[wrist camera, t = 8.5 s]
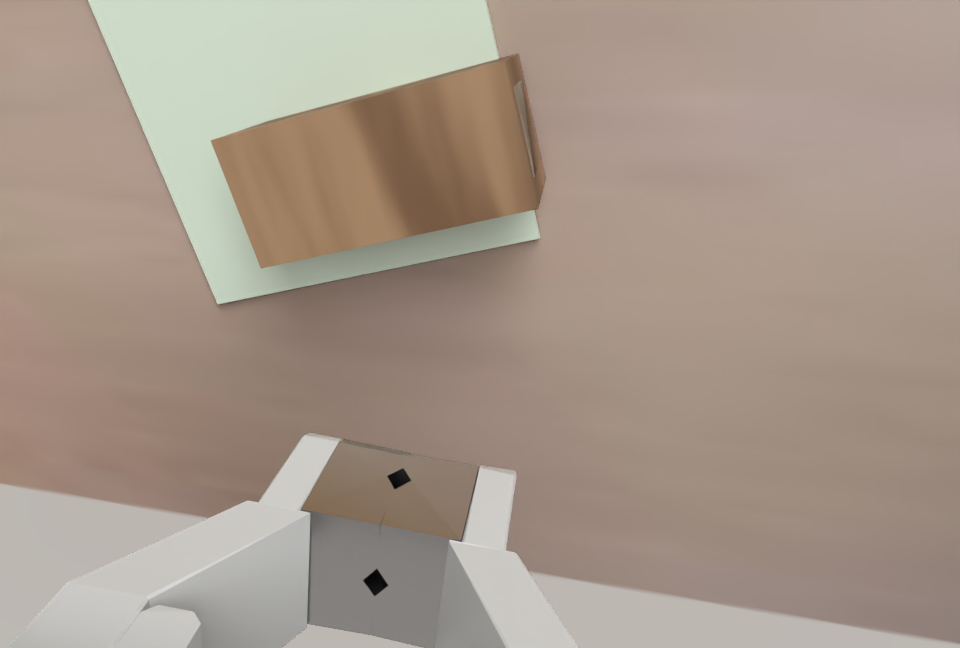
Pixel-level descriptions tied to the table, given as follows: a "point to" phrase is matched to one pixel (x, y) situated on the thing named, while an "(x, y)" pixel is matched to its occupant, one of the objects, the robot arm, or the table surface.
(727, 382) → the table surface
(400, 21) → the mat
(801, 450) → the table surface
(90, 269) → the table surface
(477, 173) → the block
